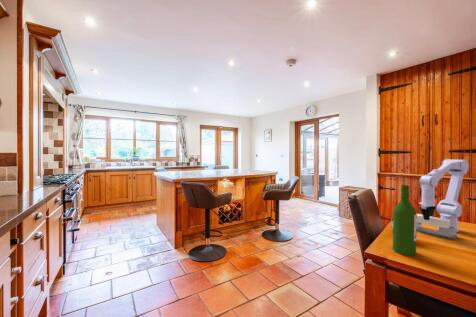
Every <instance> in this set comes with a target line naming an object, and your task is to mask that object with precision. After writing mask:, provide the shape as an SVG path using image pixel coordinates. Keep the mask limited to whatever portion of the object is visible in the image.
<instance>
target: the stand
mask: <svg viewBox="0 0 476 317" xmlns="http://www.w3.org/2000/svg"><path fill="white" fill-rule="evenodd" d="M438 228H439V229H431V228H429V227H428V228H427V227H423V223H420V222H417V232H418V233H419V232H420V233H423V234H426V235H431V236H435V237H439V238H443V239H447V240H451V241H455V240H456V239H458V234H457V233H458V232H457V227H452V226H450V227H449V228H448V229H447V228H442V227H438ZM456 232H457V233H456Z"/></svg>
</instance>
